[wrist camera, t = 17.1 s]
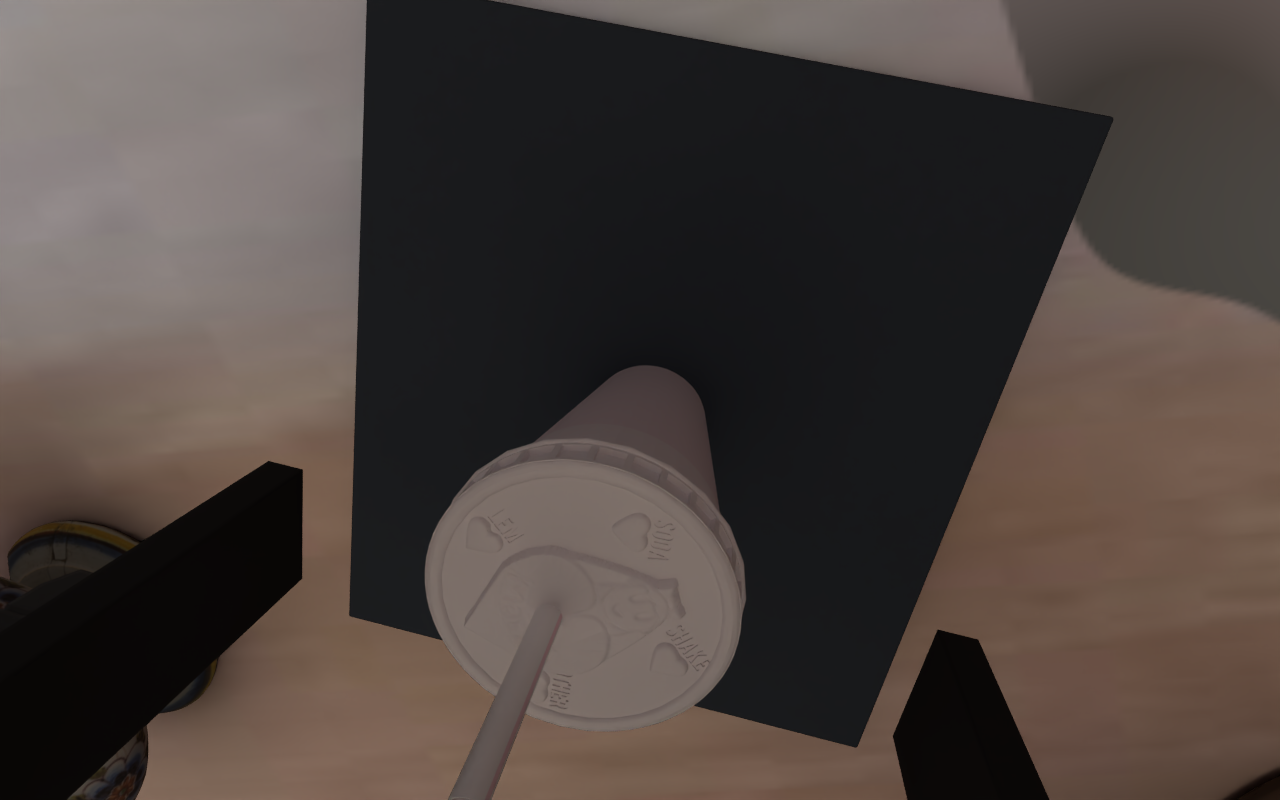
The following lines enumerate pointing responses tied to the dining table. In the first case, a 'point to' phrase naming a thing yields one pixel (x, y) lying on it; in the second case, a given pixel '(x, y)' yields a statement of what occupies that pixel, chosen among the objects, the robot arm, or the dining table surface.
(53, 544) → the apothecary jar
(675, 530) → the smoothie
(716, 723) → the dining table surface
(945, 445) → the mat
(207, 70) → the dining table surface
